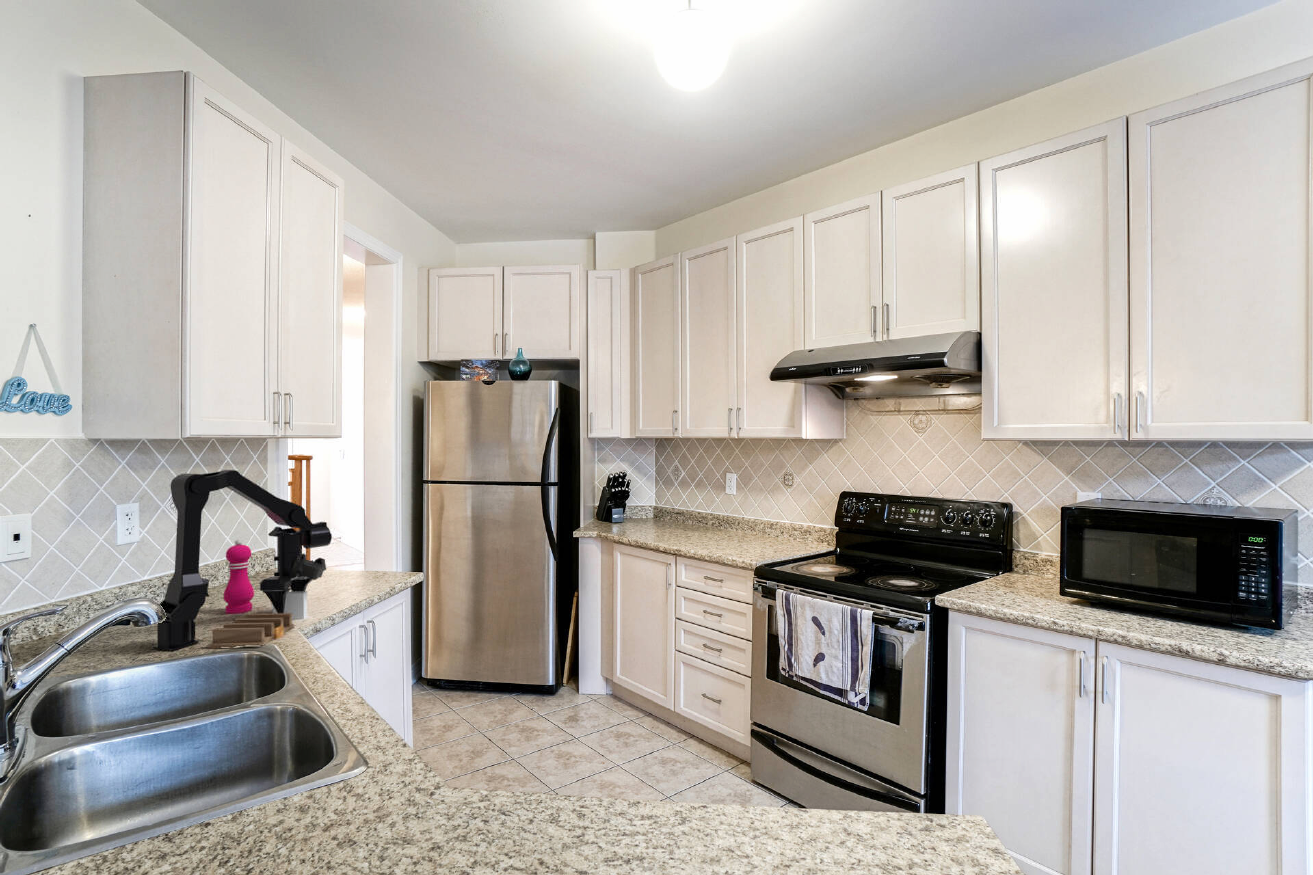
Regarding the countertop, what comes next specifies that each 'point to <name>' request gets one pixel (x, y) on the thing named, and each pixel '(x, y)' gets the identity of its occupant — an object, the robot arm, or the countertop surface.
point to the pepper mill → (238, 580)
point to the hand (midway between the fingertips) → (290, 609)
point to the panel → (296, 604)
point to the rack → (252, 630)
